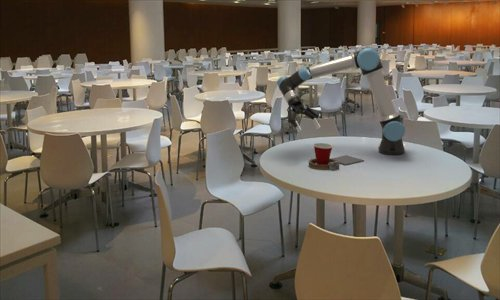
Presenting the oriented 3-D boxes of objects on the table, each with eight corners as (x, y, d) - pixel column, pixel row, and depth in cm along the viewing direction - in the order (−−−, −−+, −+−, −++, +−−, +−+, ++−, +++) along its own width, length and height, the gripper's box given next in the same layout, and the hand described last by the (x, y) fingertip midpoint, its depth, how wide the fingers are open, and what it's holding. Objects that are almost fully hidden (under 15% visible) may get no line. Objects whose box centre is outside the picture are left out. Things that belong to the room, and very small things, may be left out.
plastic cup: (332, 168, 268) (332, 147, 265) (312, 168, 270) (312, 146, 268) (333, 163, 279) (333, 142, 276) (313, 163, 281) (313, 142, 278)
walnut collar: (324, 160, 285) (324, 153, 284) (346, 167, 270) (346, 160, 269) (303, 165, 277) (303, 158, 276) (324, 172, 262) (324, 165, 261)
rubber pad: (346, 156, 293) (346, 155, 293) (363, 161, 281) (363, 160, 281) (328, 160, 285) (328, 159, 285) (345, 165, 274) (345, 164, 274)
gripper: (307, 102, 297) (323, 131, 288) (272, 106, 284) (288, 136, 275) (313, 94, 291) (330, 123, 283) (278, 97, 278) (294, 128, 270)
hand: (309, 130), depth 279 cm, fingers open, 13 cm apart
